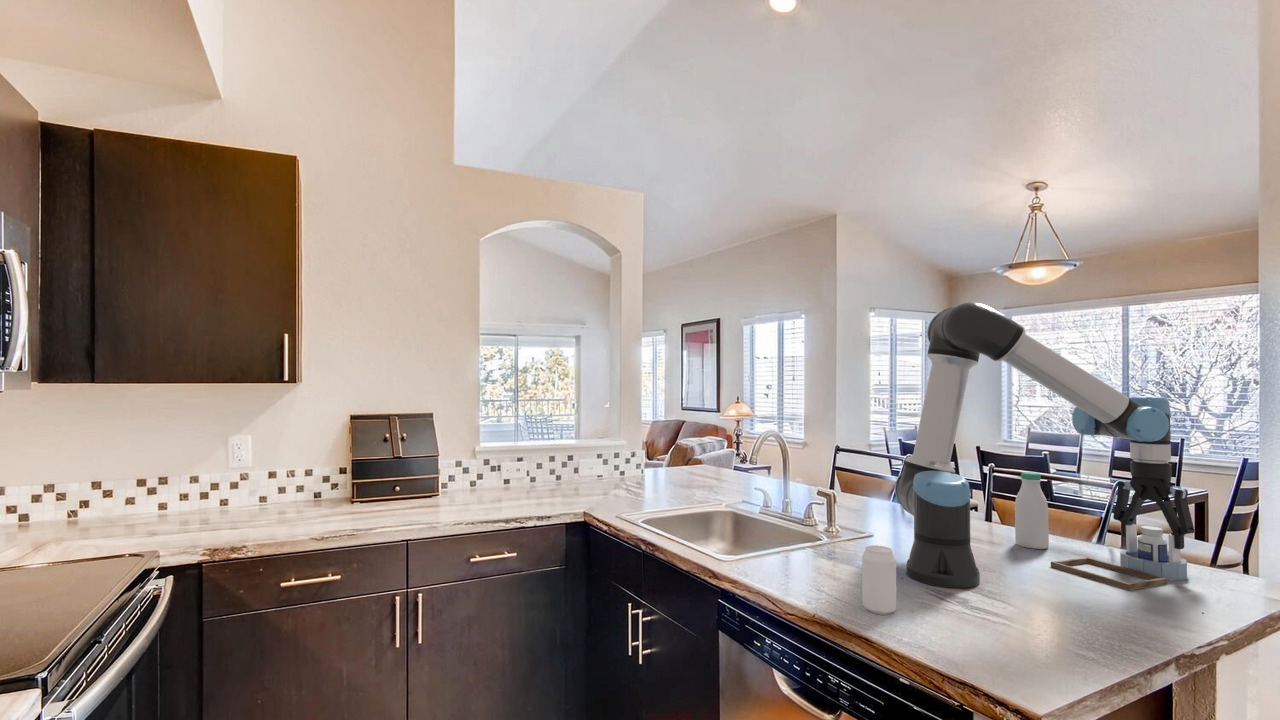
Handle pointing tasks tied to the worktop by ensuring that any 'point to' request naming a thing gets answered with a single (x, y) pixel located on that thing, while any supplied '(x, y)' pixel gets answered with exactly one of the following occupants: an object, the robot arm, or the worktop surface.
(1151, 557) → the pill bottle
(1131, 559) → the bowl
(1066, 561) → the empty rectangular wooden frame
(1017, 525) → the milk bottle
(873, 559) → the beverage can
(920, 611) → the worktop surface
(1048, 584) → the worktop surface
